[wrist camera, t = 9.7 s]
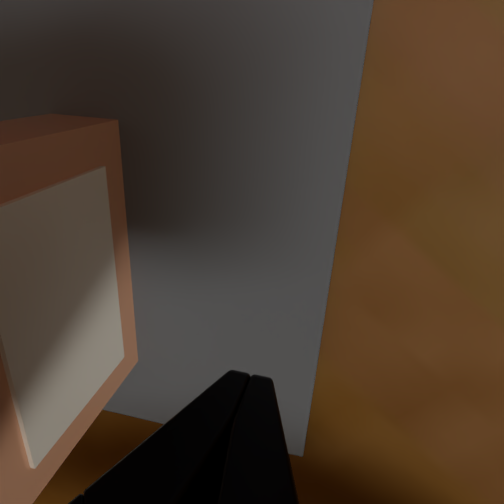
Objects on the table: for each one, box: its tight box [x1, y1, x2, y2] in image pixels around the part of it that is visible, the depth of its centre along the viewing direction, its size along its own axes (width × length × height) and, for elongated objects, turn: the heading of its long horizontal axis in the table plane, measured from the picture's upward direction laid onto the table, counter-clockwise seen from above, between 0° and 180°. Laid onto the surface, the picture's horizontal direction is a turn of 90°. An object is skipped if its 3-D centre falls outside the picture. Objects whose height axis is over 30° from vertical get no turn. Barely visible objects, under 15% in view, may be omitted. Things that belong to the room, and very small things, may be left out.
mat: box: [0, 0, 373, 457], centre depth 13 cm, size 15×16×1 cm
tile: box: [0, 114, 138, 504], centre depth 10 cm, size 8×2×6 cm, turn 177°
